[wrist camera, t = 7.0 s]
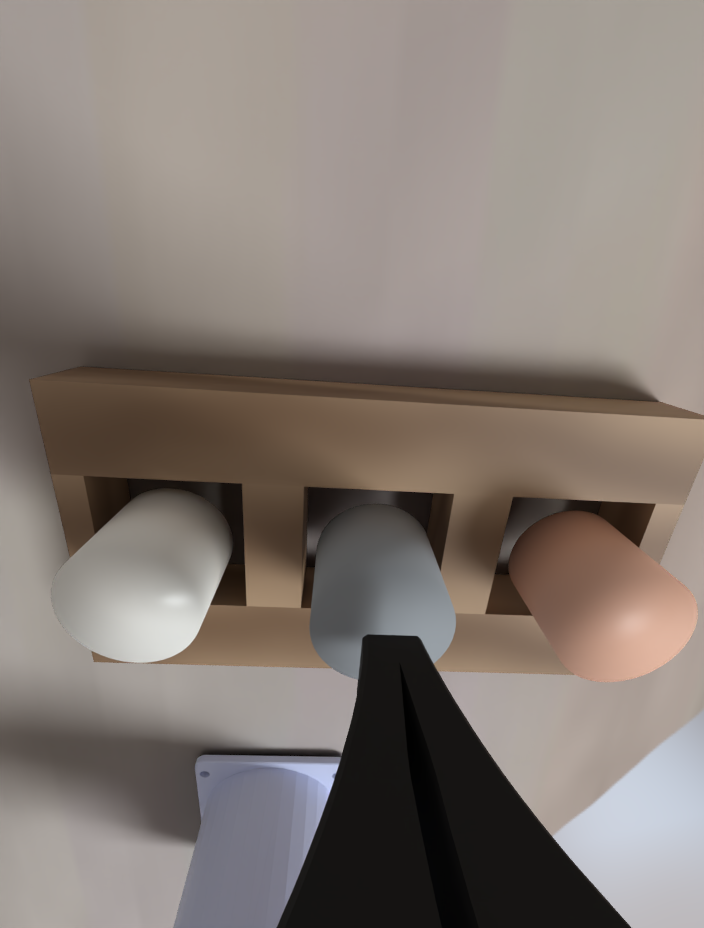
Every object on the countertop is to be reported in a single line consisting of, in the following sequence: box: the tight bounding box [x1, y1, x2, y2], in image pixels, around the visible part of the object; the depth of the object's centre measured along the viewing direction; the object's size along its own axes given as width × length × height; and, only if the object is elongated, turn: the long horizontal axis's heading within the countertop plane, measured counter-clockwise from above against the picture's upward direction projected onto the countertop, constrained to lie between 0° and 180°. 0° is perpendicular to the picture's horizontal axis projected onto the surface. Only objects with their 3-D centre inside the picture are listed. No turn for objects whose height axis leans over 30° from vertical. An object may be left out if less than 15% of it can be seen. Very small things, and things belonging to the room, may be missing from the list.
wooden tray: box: [29, 367, 704, 675], centre depth 15 cm, size 11×21×2 cm, turn 86°
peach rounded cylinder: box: [509, 511, 698, 682], centre depth 13 cm, size 4×4×4 cm
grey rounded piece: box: [309, 504, 456, 679], centre depth 13 cm, size 4×4×4 cm
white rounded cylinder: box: [51, 488, 233, 663], centre depth 13 cm, size 4×4×4 cm
